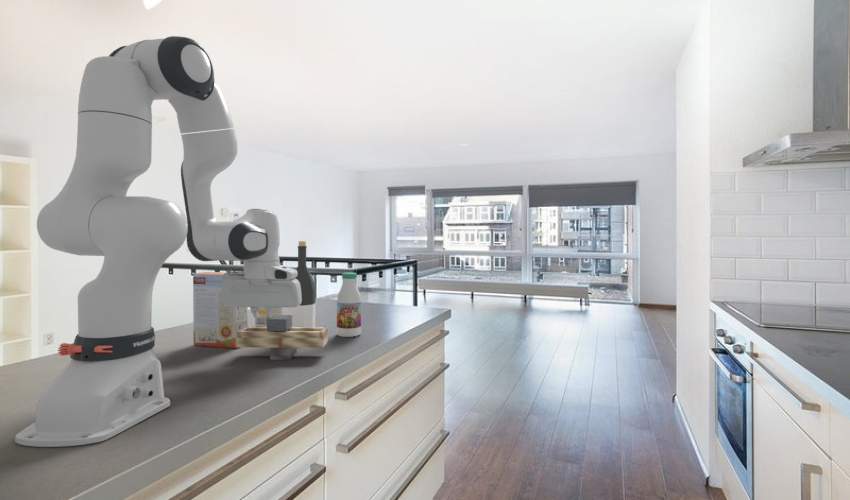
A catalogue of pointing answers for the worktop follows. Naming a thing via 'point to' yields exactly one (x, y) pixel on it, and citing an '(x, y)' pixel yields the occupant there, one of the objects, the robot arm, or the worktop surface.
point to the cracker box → (214, 313)
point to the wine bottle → (304, 293)
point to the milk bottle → (349, 307)
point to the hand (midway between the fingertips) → (261, 323)
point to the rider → (279, 323)
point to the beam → (283, 340)
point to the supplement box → (275, 312)
